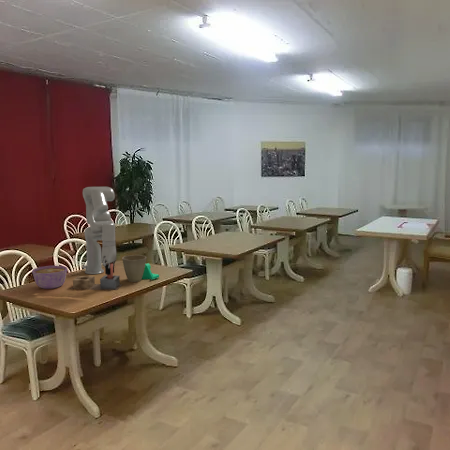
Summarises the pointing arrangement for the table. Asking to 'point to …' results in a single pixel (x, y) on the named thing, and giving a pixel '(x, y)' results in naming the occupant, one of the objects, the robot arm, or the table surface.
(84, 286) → the mount
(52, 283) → the bowl of food
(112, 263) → the pin
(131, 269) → the plant pot
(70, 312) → the table surface
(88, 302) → the table surface
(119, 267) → the table surface
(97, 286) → the board
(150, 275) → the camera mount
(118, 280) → the socket
